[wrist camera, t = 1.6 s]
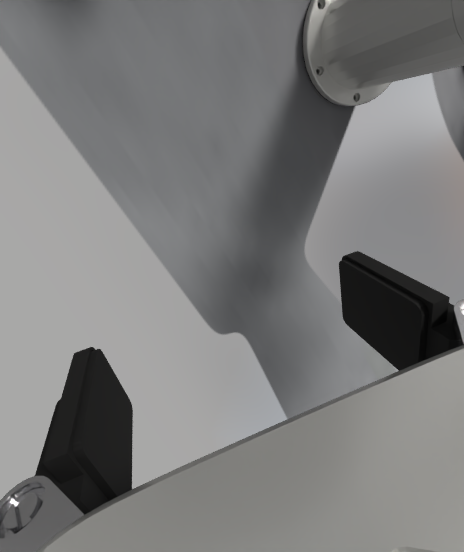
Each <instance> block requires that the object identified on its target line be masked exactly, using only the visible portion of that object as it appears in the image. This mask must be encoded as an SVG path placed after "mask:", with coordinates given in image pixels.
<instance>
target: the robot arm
mask: <svg viewBox="0 0 464 552" xmlns="http://www.w3.org/2000/svg"><path fill="white" fill-rule="evenodd" d="M318 7H319V8H318ZM303 53H304V60H305V64H306V69H307V71H308V74H309V76H310V79H311V81H312V83H313V84H314V86H315V87H316V89H317V90H318V91H319V92H320V94H321V95H322V96H323V97H324V98H326V99H327V100H329V101H330V102H332V103H335V104H337V105H340V106H356V105H360V104H364V103H367V102H369V101H371V100H373V99H375V98H376V97H378V96H379V95H380V94H381V93H382V92H384V91H385V90H386V88H387V87H388V86H389V85H390V84H391V83H392V82H393V81H398V80H403V79H407V78H411V77H416V76H420V75H424V74H429V73H433V72H438V71H442V70H446V69H451V68H455V67H460V66H464V0H311V3H310V6H309V8H308V11H307V15H306V19H305V24H304V31H303ZM316 70H317V73H316ZM339 271H340V284H341V297H342V298H341V299H342V312H343V319H344V321H345V323H346V324H347V325H348V326H349V327H350V328H351V329H352V330H354V331H355V332H356V333H357V334H358V335H359V336H360V337H361V338H363V339H364V340H365V341H366V342H367V343H368V344H369V345H371V346H372V347H373V348H374V349H375V350H376V351H377V352H378V353H380V354H381V355H382V356H383V357H384V358H385V359H386V360H388V361H389V362H390V363H391V364H392V365H393V366H394V367H396V368H397V369H398V370H399V371H398V372H396V373H393V374H391V375H389V376H386V377H384V378H382V379H379V380H377V381H375V382H373V383H370V384H368V385H366V386H363V387H361V388H359V389H356V390H354V391H352V392H349V393H347V394H345V395H342V396H340V397H338V398H336V399H333V400H331V401H329V402H326V403H324V404H322V405H320V406H317V407H315V408H313V409H310V410H308V411H306V412H304V413H301V414H299V415H297V416H294V417H292V418H290V419H288V420H285V421H283V422H281V423H278V424H276V425H274V426H272V427H269V428H267V429H265V430H263V431H261V432H258V433H256V434H254V435H252V436H249V437H247V438H245V439H242V440H240V441H238V442H236V443H234V444H231V445H229V446H227V447H224V448H222V449H220V450H218V451H215V452H213V453H211V454H209V455H206V456H204V457H202V458H200V459H197V460H195V461H193V462H191V463H188V464H186V465H184V466H182V467H180V468H177V469H175V470H173V471H171V472H169V473H167V474H164V475H162V476H160V477H158V478H156V479H154V480H152V481H149V482H147V483H145V484H143V485H141V486H139V487H136V488H134V489H132V417H133V416H132V414H133V413H132V412H133V410H132V405H131V402H130V400H129V398H128V396H127V394H126V393H125V391H124V389H123V387H122V386H121V384H120V382H119V380H118V378H117V377H116V375H115V373H114V372H113V370H112V368H111V366H110V365H109V363H108V361H107V359H106V358H105V356H104V354H103V352H102V351H101V350H100V349H97V350H95V349H94V348H93V347H90V348H87V349H85V350H82V351H79V352H76V353H74V355H73V359H72V362H71V366H70V369H69V373H68V376H67V380H66V383H65V387H64V390H63V394H62V398H61V399H60V400H59V401H58V402H57V405H56V407H55V411H54V414H53V417H52V421H51V424H50V427H49V431H48V434H47V438H46V441H45V444H44V447H43V451H42V454H41V458H40V461H39V464H38V467H37V471H36V475H35V476H34V477H31V478H28V479H26V480H24V481H23V482H21V483H19V484H18V485H16V486H15V487H14V488H13V489H11V490H10V491H9V492H8V493H7V494H6V495H5V496H4V497H3V498H2V499H1V500H0V552H464V299H462V300H460V301H458V302H457V303H456V304H455V305H452V304H450V303H449V297H448V296H446V295H444V294H442V293H440V292H438V291H436V290H434V289H432V288H430V287H428V286H426V285H424V284H422V283H420V282H418V281H416V280H414V279H412V278H410V277H408V276H406V275H404V274H402V273H400V272H398V271H396V270H394V269H392V268H391V267H388V266H386V265H385V264H382V263H381V262H379V261H377V260H375V259H373V258H371V257H369V256H367V255H365V254H363V253H361V252H358V251H357V252H353V253H351V254H348V255H345V256H343V258H342V261H340V262H339Z"/></svg>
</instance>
